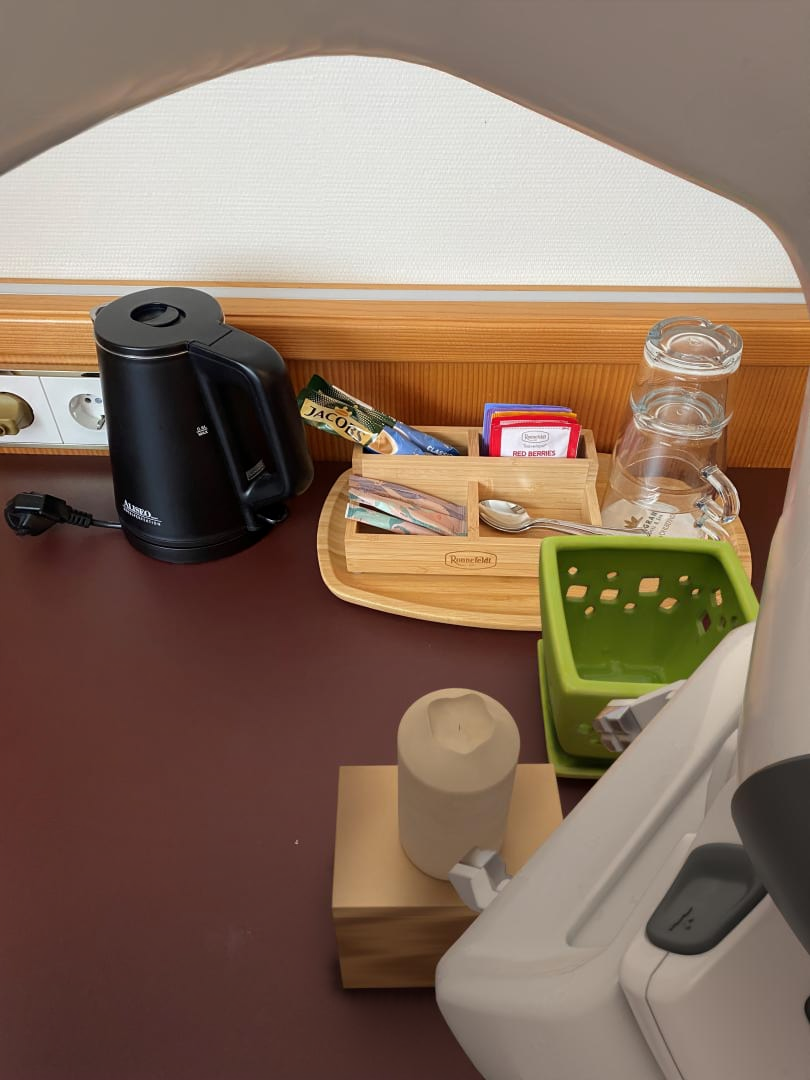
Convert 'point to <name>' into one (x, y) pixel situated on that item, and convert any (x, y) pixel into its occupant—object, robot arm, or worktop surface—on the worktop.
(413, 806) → the candle
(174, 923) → the worktop surface
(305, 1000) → the worktop surface
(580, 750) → the flower pot
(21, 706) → the worktop surface
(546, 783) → the wooden crate-shaped block
